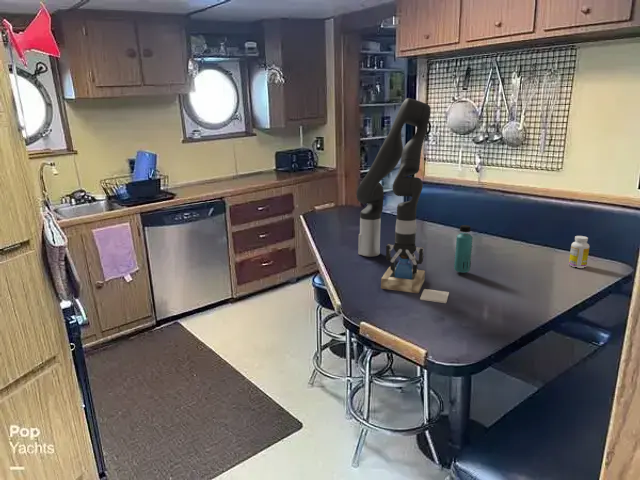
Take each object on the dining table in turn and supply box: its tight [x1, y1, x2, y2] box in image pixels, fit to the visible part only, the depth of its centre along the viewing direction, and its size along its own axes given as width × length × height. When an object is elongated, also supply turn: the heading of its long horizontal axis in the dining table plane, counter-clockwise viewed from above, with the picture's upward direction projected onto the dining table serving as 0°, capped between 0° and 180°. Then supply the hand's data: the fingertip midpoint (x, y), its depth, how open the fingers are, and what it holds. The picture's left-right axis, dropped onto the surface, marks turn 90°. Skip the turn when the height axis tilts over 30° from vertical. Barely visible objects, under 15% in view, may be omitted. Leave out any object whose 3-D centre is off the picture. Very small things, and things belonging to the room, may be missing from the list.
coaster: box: [419, 288, 450, 304], centre depth 166 cm, size 9×9×1 cm
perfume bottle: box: [395, 255, 413, 280], centre depth 176 cm, size 6×6×12 cm
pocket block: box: [380, 266, 426, 294], centre depth 177 cm, size 14×14×4 cm
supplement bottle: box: [568, 235, 590, 267], centre depth 194 cm, size 7×7×13 cm
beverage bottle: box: [453, 224, 473, 273], centre depth 186 cm, size 6×7×20 cm
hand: (403, 272), depth 176 cm, fingers open, 7 cm apart
